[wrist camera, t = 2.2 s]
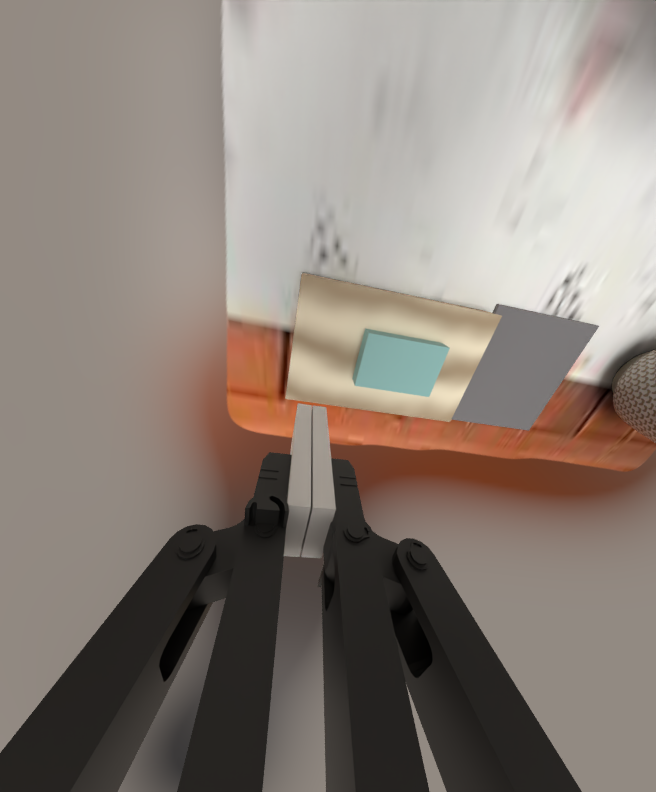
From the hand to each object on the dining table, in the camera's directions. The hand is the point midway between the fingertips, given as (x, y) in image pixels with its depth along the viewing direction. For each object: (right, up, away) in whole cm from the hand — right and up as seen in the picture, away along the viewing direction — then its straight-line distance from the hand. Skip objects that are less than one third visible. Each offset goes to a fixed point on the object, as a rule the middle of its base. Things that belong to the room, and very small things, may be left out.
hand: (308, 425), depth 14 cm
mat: (+27, +5, +20) cm, 33 cm away
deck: (+8, +7, +17) cm, 20 cm away
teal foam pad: (+9, +6, +15) cm, 18 cm away
